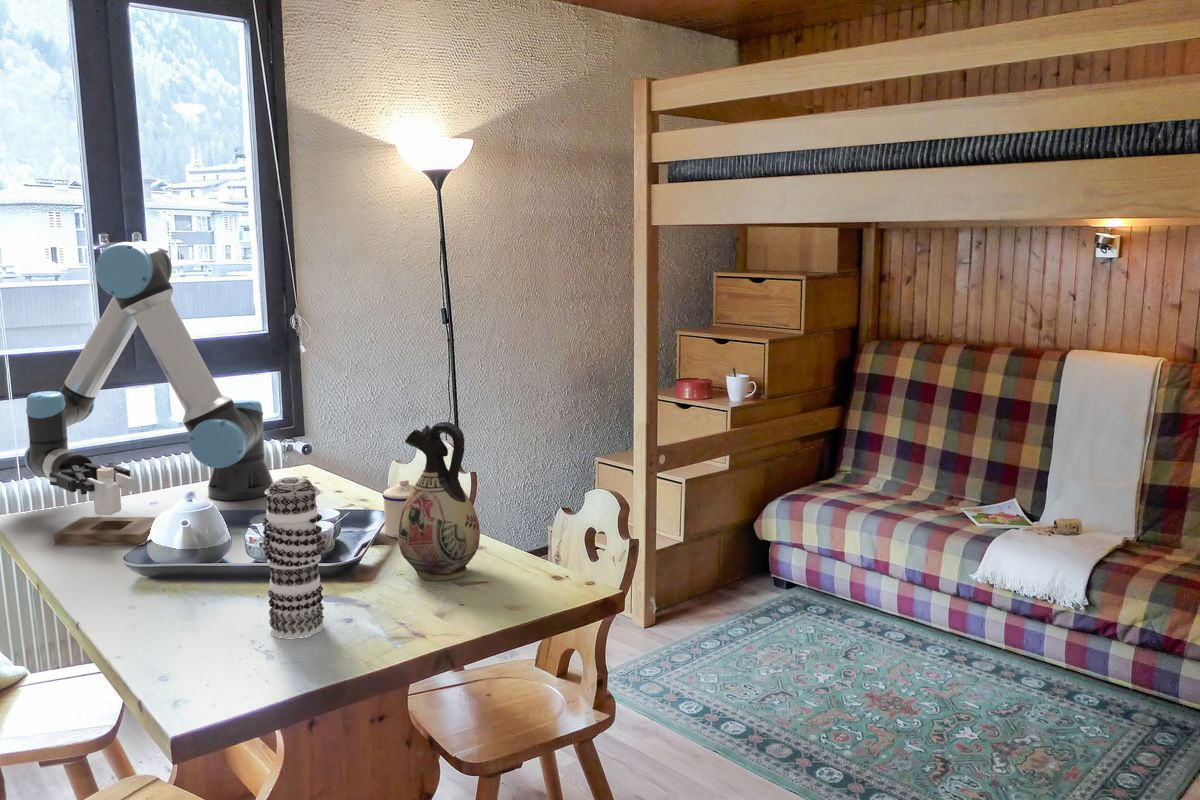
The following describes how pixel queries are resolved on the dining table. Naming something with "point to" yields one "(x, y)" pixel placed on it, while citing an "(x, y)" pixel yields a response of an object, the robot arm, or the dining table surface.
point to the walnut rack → (105, 531)
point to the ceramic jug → (438, 510)
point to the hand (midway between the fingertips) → (117, 487)
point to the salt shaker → (107, 493)
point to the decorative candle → (293, 558)
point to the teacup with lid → (395, 505)
